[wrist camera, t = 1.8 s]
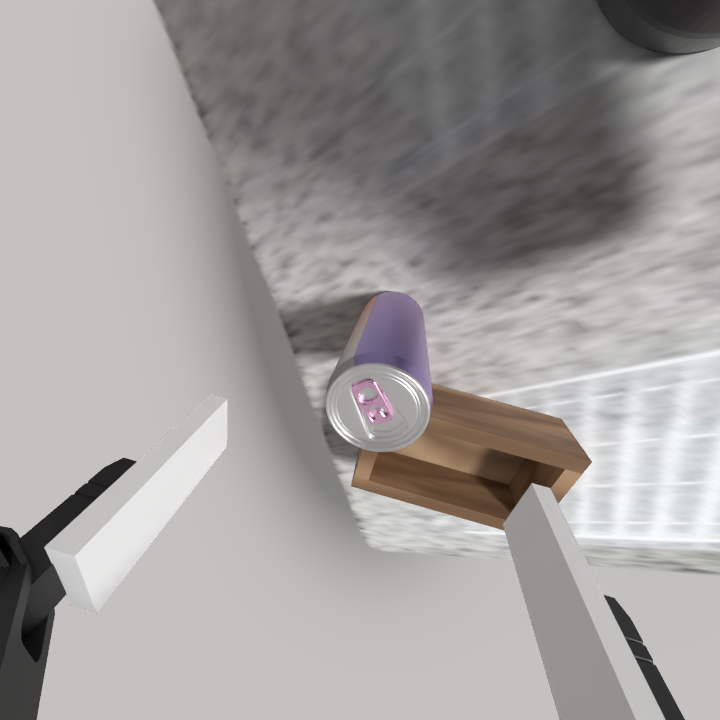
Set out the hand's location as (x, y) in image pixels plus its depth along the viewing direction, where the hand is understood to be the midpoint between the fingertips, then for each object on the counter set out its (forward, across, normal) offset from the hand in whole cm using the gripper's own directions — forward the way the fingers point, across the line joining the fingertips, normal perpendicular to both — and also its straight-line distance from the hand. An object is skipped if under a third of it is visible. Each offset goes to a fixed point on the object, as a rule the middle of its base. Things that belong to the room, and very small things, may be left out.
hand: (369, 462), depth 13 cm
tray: (+18, +10, -11) cm, 24 cm away
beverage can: (+19, 0, 0) cm, 19 cm away
